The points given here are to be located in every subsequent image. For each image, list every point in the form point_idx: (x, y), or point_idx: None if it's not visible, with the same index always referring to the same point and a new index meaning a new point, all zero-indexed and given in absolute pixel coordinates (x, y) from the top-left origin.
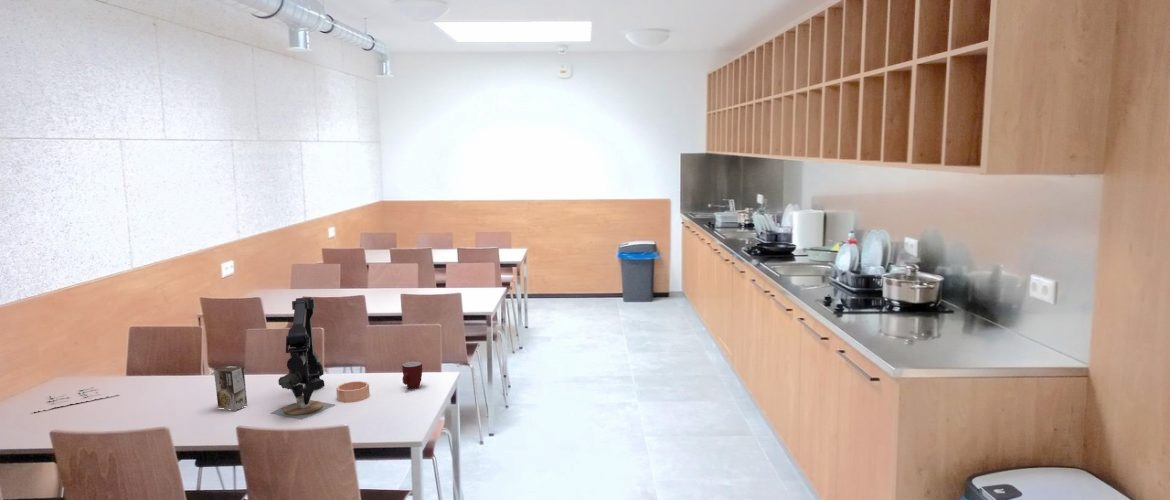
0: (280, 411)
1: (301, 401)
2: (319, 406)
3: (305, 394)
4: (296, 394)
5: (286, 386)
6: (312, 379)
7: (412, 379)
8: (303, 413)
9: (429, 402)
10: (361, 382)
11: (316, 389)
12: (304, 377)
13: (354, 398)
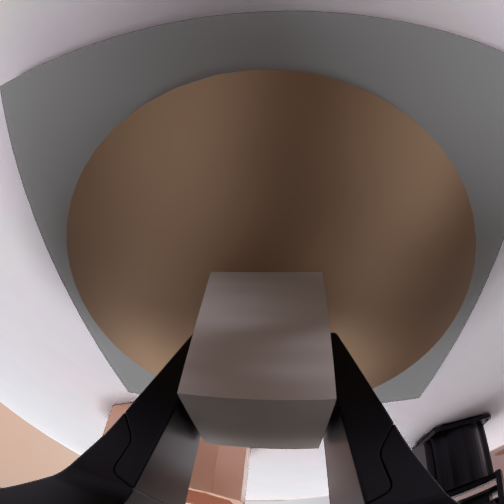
0: (475, 139)
1: (209, 350)
2: (135, 350)
3: (86, 452)
4: (348, 452)
5: None
6: (445, 483)
7: None
8: (82, 179)
9: (8, 404)
10: (186, 501)
11: (424, 446)
12: None
13: (104, 430)
